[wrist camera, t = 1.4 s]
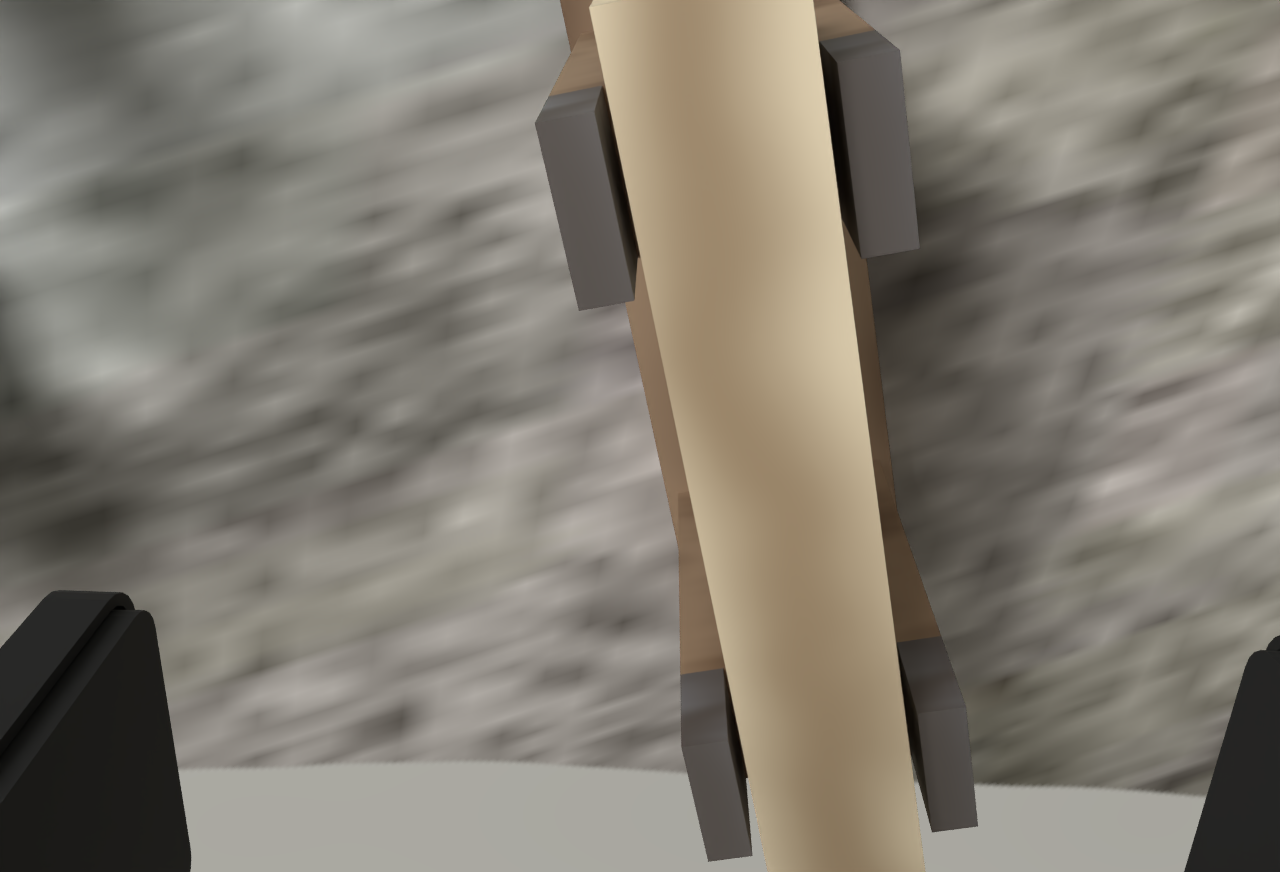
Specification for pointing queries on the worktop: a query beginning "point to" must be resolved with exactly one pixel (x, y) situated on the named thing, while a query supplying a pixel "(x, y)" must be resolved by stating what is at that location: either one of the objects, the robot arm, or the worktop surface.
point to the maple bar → (769, 410)
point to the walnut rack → (611, 274)
